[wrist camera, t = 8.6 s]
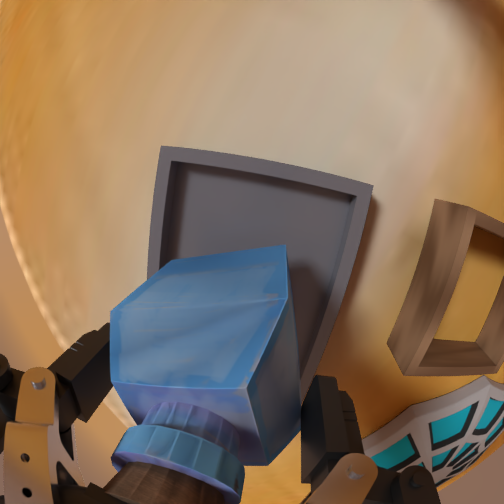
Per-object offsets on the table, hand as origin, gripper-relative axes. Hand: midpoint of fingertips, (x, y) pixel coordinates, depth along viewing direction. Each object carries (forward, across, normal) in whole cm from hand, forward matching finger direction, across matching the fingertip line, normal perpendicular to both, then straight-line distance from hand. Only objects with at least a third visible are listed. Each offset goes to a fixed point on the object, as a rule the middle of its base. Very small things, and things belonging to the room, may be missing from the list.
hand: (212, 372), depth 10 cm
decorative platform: (+10, -28, +21) cm, 36 cm away
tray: (+9, 0, 0) cm, 9 cm away
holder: (+9, -17, -3) cm, 19 cm away
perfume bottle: (+6, 0, 0) cm, 6 cm away
